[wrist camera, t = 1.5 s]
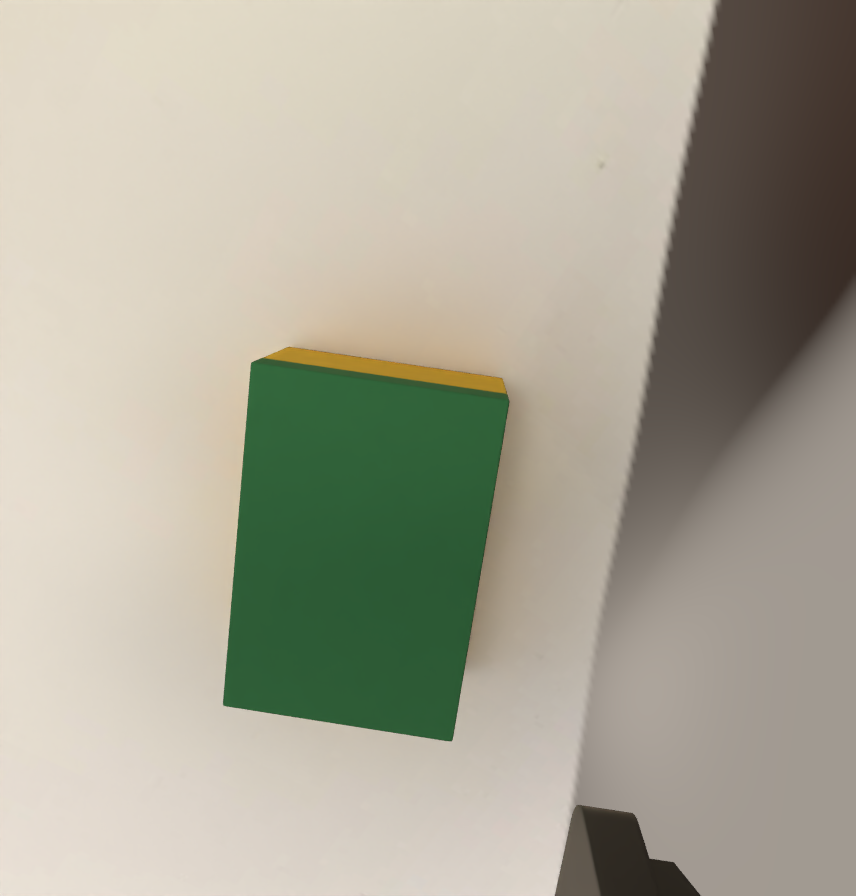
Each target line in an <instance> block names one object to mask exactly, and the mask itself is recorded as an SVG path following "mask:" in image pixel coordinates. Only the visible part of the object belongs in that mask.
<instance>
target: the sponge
mask: <svg viewBox="0 0 856 896" xmlns="http://www.w3.org/2000/svg"><path fill="white" fill-rule="evenodd" d="M508 407H509V399H508V395H507V392H506V389H505V385H504V382H503V379H502V378H497V377H491V376H484V375H477V374H470V373H463V372H456V371H450V370H443V369H436V368H429V367H422V366H416V365H409V364H402V363H395V362H388V361H381V360H375V359H368V358H361V357H354V356H347V355H341V354H334V353H327V352H320V351H313V350H306V349H300V348H293V347H287V348H285V349H282V350H280V351H278V352H275V353H273V354H271V355H268V356H266V357H264V358H261V359H259V360H256V361H254V362H252V363H251V371H250V383H249V396H248V408H247V420H246V432H245V444H244V456H243V468H242V480H241V493H240V505H239V517H238V529H237V541H236V553H235V565H234V577H233V590H232V602H231V614H230V626H229V638H228V650H227V662H226V674H225V687H224V699H223V705H224V706H228V707H234V708H241V709H247V710H253V711H260V712H266V713H272V714H279V715H285V716H292V717H298V718H304V719H311V720H317V721H323V722H330V723H336V724H342V725H349V726H355V727H361V728H368V729H374V730H380V731H387V732H393V733H399V734H406V735H412V736H418V737H425V738H431V739H437V740H444V741H452V740H453V735H454V729H455V723H456V717H457V711H458V705H459V699H460V693H461V687H462V681H463V675H464V669H465V663H466V657H467V651H468V645H469V639H470V633H471V627H472V622H473V616H474V610H475V604H476V598H477V592H478V586H479V580H480V574H481V568H482V562H483V556H484V550H485V544H486V538H487V532H488V526H489V520H490V514H491V508H492V502H493V497H494V491H495V485H496V479H497V473H498V467H499V461H500V455H501V449H502V443H503V437H504V431H505V425H506V419H507V413H508Z"/></svg>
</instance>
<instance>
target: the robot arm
mask: <svg viewBox="0 0 856 896" xmlns="http://www.w3.org/2000/svg"><path fill="white" fill-rule="evenodd" d="M555 896H700V894H699V893H698V892H697V891H696V889H695V888H694V887H693V886H692V885H691V883H690V882H689V881H688V879H687V878H686V877H685V876H684V875H683V873H682V872H681V871H680V870H679V868H678V867H677V866H676V865H675V863H674V862H668V861H661V860H655V859H649V856H648V853H647V850H646V846H645V843H644V840H643V837H642V834H641V830H640V827H639V824H638V821H637V818H636V817H635V815H634V814H633V813H628V812H621V811H615V810H609V809H602V808H595V807H589V806H582V805H577V806H576V807H575V809H574V811H573V814H572V818H571V823H570V827H569V832H568V837H567V841H566V846H565V851H564V856H563V860H562V865H561V870H560V874H559V879H558V884H557V888H556V893H555Z"/></svg>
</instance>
